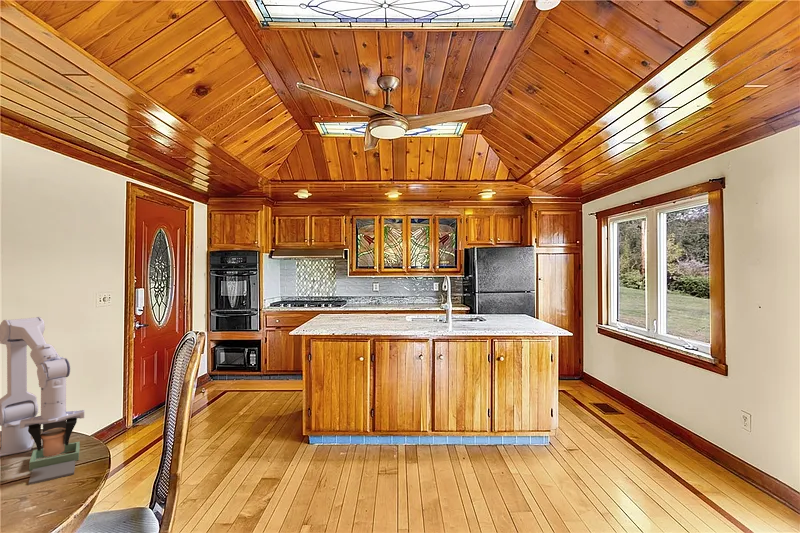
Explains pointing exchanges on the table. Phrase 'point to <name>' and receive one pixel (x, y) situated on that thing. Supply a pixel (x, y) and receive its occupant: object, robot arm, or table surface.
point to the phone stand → (55, 426)
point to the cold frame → (54, 460)
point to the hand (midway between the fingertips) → (53, 446)
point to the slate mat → (52, 472)
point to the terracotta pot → (53, 441)
